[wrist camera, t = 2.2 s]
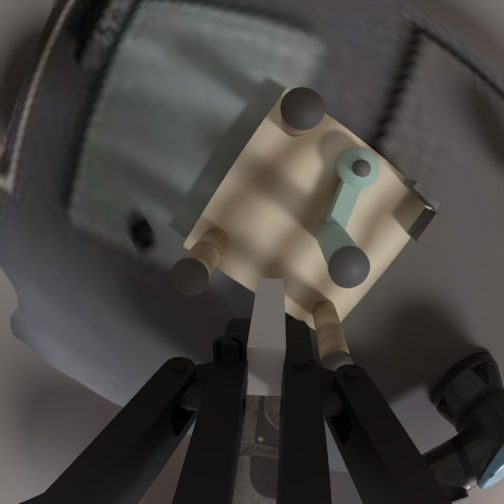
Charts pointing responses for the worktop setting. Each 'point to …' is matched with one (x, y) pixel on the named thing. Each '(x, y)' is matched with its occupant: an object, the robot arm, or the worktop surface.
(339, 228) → the folding leg
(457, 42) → the worktop surface
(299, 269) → the stool
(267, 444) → the figurine
